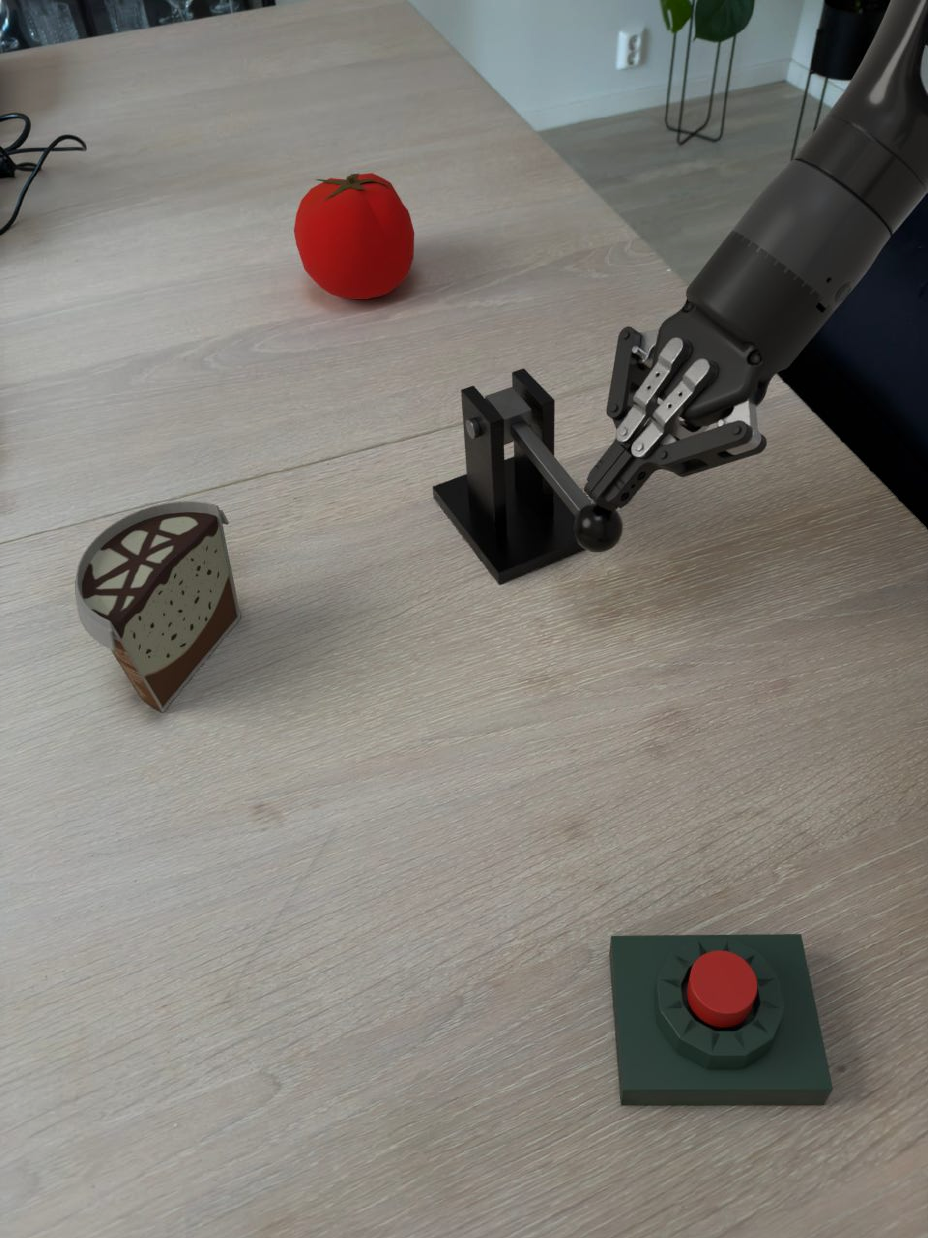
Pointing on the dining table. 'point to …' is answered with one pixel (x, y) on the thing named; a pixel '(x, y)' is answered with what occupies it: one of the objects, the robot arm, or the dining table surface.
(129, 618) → the cake slice
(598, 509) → the lever
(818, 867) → the dining table surface
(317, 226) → the tomato
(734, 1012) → the button
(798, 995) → the control block
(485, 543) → the black bracket
